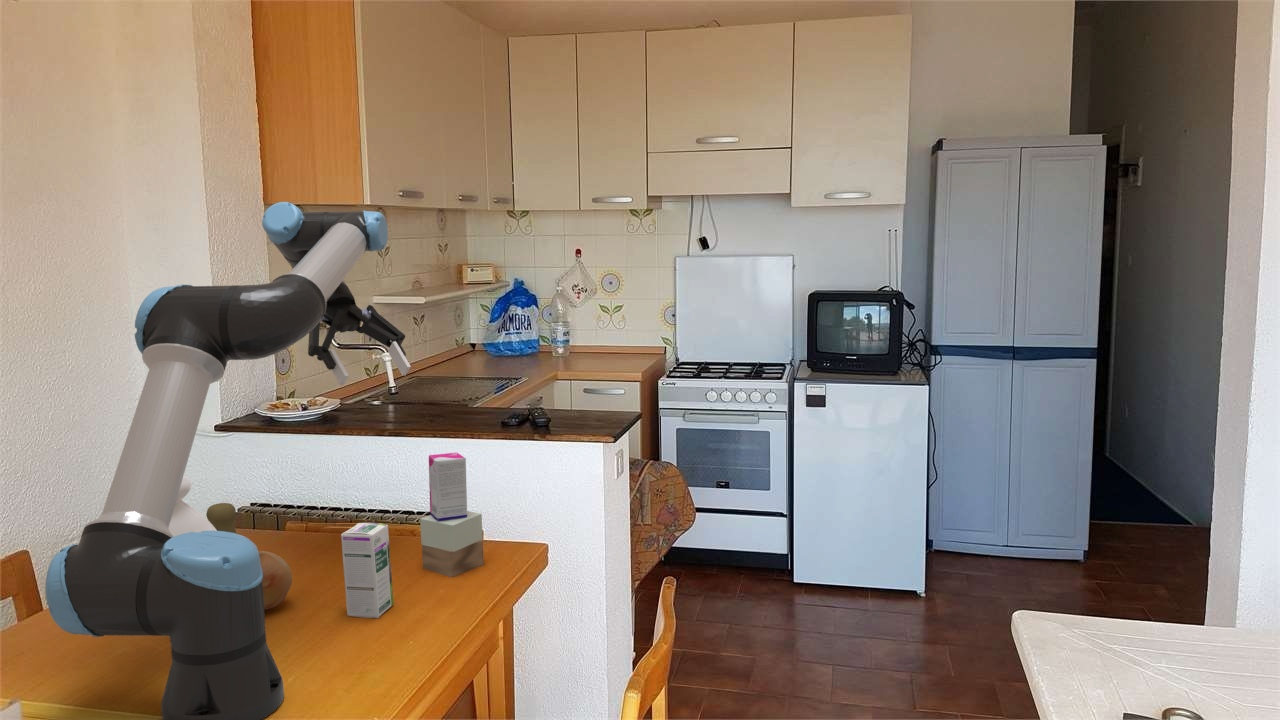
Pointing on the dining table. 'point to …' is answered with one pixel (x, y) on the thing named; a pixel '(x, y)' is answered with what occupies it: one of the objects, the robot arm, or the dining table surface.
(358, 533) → the syrup box
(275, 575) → the onion
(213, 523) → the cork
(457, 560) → the tower base slab
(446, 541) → the tower top slab
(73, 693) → the dining table surface
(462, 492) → the supplement box
